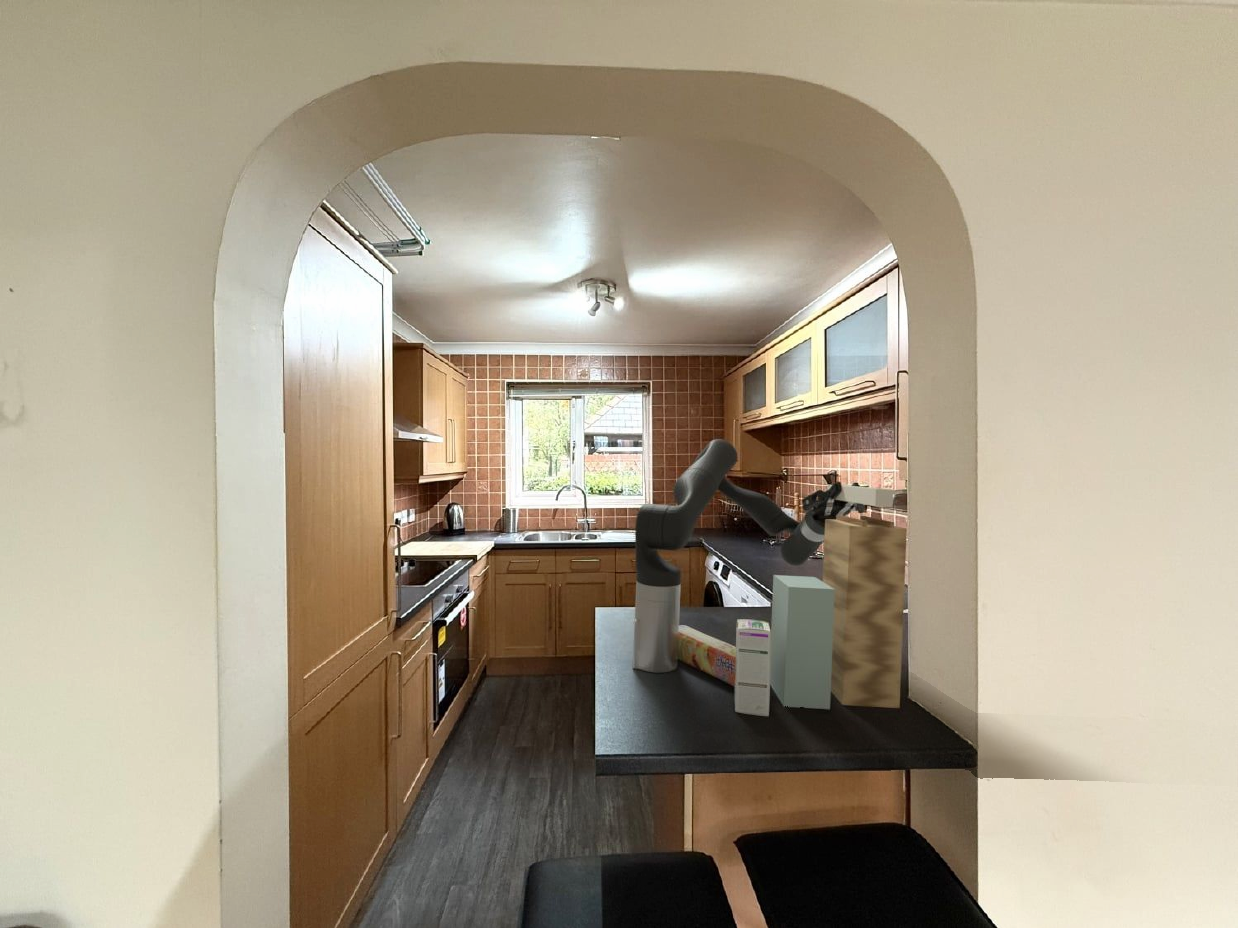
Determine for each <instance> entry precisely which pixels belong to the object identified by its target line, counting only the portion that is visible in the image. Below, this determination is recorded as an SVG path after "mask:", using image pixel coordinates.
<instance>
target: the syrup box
mask: <svg viewBox="0 0 1238 928" xmlns="http://www.w3.org/2000/svg"><path fill="white" fill-rule="evenodd" d="M736 619H737V618H736ZM735 632H736V634H735V635H736V638H735V647H736V662H735V687H734V711H735V712H736V713H740V714H746V715H752V716H759V717H760V716H761V717H769V715H770V698H771V697H770V696H771V693H770V691H771V689H770V688H771V685H770V648H771V628H770V622H768V621H764V620H758V619H748V618H747V619H739V618H738V619H737V620H736V630H735Z"/></svg>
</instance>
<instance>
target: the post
mask: <svg viewBox="0 0 1238 928" xmlns="http://www.w3.org/2000/svg"><path fill="white" fill-rule="evenodd" d="M772 581H773V582H772V599H771V600H772V601H771V602H772V603H771V628H770V631H771V648H770V688H772V690H773V692H774V693H775V695H776V696H777V698H778V700H779V701H780V703H781V704H782V706H783V707H785V706H786V707H785V708H800V707H804V708H803V709H805V708H806V709H819V710H820V709H821V710H822V709H823V710H830V709H831V696H832V695H831V694H832V692H831V670H832V646H833V621H834V596H835V589H834V588H832V587H830V586H829V585H827V584H825V583H824V582H823V580H821V579H819V578H818V577H816V576H805V575H803V576H800V575H780V574H773V579H772ZM787 706H788V707H787Z"/></svg>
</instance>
